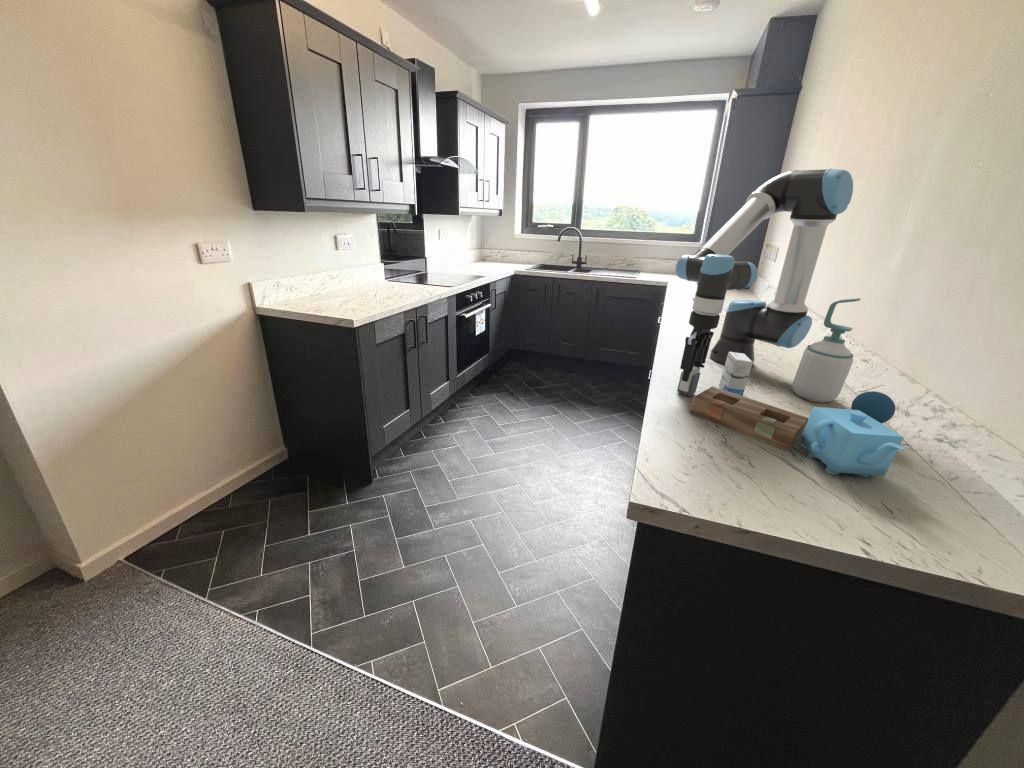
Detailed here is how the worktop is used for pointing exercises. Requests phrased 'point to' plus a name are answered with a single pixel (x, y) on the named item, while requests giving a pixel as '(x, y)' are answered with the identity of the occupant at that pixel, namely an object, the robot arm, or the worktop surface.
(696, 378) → the plug
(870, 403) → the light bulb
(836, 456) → the teapot
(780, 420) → the socket block
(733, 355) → the ink box
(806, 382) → the soap bottle
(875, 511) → the worktop surface
